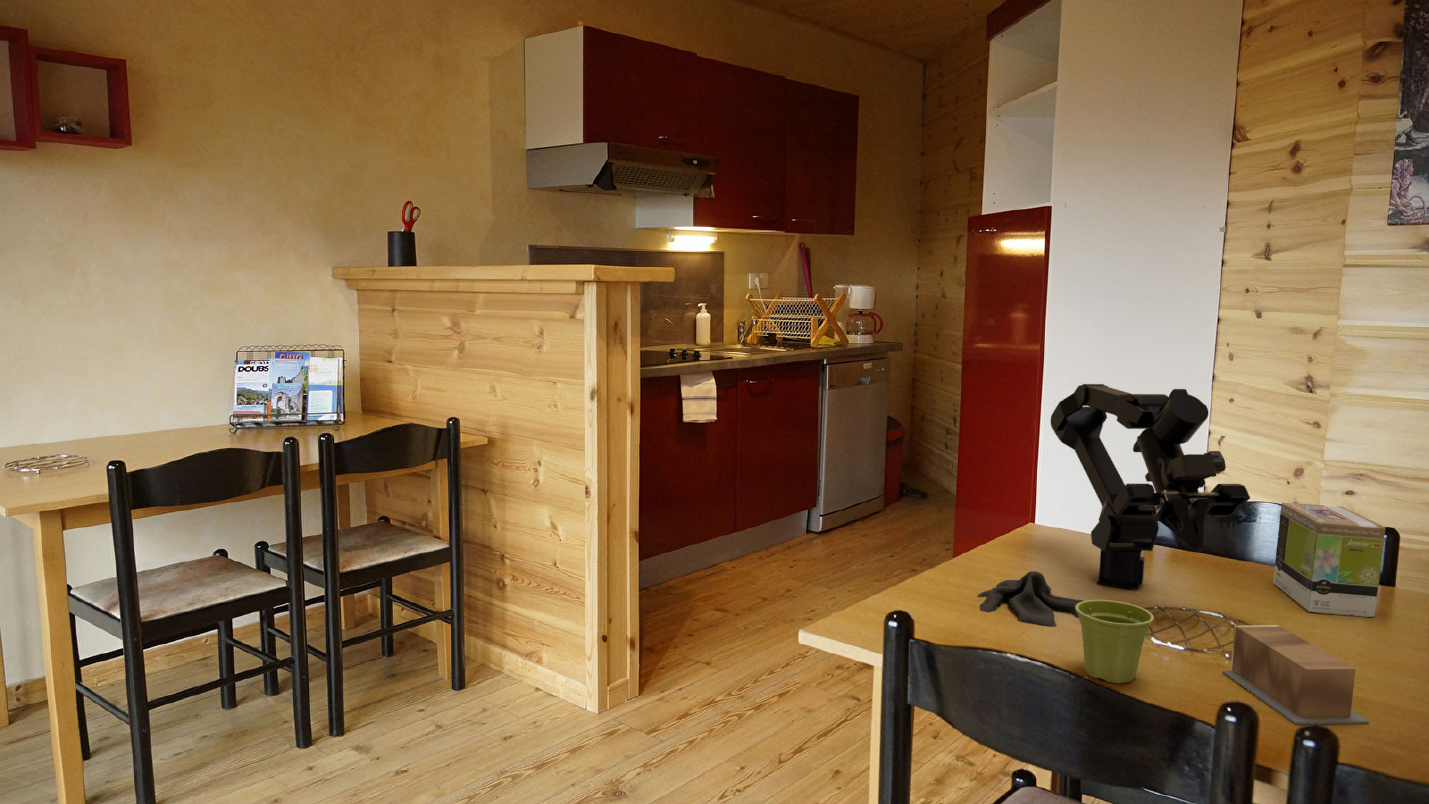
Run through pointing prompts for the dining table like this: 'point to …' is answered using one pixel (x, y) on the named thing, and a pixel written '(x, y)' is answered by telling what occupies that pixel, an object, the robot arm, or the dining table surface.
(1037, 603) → the cloth
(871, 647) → the dining table surface
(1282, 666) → the walnut block
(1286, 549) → the tea box
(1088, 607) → the plant pot
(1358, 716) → the rubber mat
